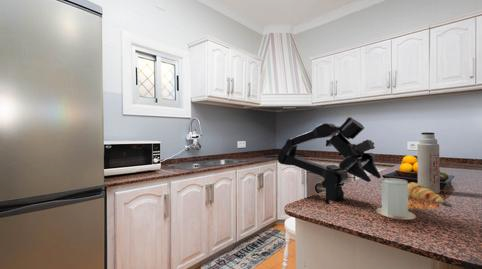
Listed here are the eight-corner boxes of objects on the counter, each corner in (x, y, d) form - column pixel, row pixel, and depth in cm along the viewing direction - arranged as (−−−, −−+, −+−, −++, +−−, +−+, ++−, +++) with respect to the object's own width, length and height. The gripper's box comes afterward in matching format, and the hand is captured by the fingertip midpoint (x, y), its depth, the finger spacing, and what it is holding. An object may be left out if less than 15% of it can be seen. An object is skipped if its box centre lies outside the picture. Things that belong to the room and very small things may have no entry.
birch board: (381, 221, 71) (381, 217, 71) (372, 209, 81) (372, 206, 81) (422, 224, 67) (422, 220, 67) (407, 212, 78) (407, 209, 78)
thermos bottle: (444, 193, 101) (443, 132, 101) (424, 193, 102) (424, 132, 102) (432, 189, 109) (431, 132, 109) (414, 188, 110) (413, 132, 110)
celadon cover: (380, 213, 74) (380, 180, 74) (384, 207, 79) (383, 177, 79) (406, 218, 69) (406, 183, 69) (408, 212, 75) (408, 179, 75)
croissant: (449, 214, 86) (456, 195, 86) (433, 204, 83) (440, 184, 84) (396, 197, 106) (402, 182, 107) (382, 189, 103) (388, 174, 104)
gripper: (347, 132, 77) (383, 168, 69) (369, 132, 89) (402, 162, 80) (326, 154, 83) (357, 188, 75) (349, 151, 95) (378, 180, 87)
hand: (375, 179), depth 79 cm, fingers open, 9 cm apart
